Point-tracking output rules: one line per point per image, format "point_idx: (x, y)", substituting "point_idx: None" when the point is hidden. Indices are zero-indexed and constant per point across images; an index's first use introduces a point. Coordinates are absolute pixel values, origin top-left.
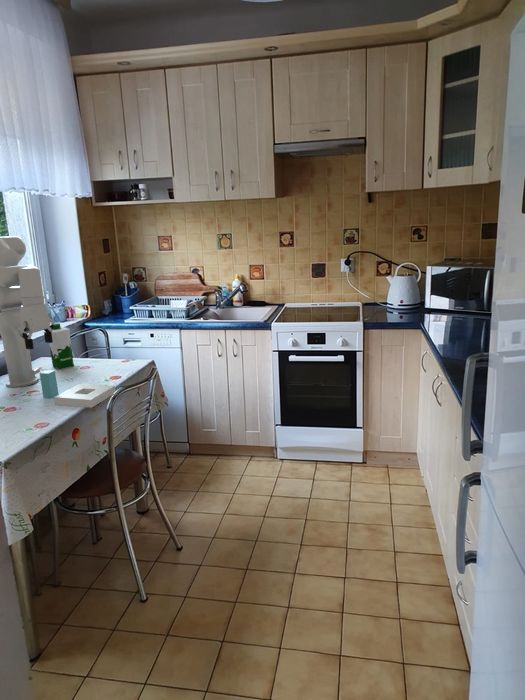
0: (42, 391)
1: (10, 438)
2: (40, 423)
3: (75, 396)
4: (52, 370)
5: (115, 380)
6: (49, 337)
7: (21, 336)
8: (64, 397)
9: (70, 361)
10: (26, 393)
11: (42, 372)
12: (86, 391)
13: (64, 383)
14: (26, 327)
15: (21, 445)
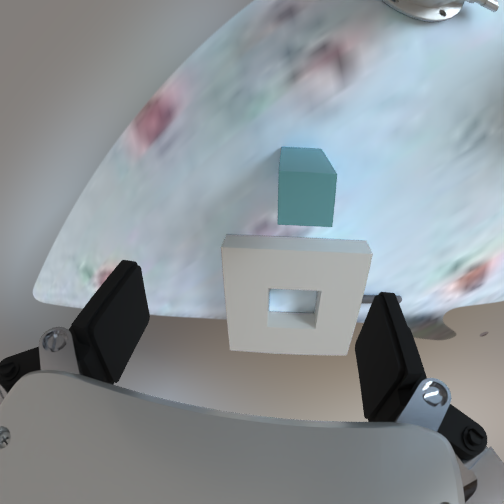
0: (281, 151)
1: (52, 263)
2: None
3: (243, 306)
4: (331, 213)
5: (450, 290)
6: (365, 376)
7: (20, 353)
8: (227, 281)
9: None
10: (311, 48)
11: (291, 180)
12: (319, 294)
13: (438, 136)
14: (66, 448)
15: (53, 297)
